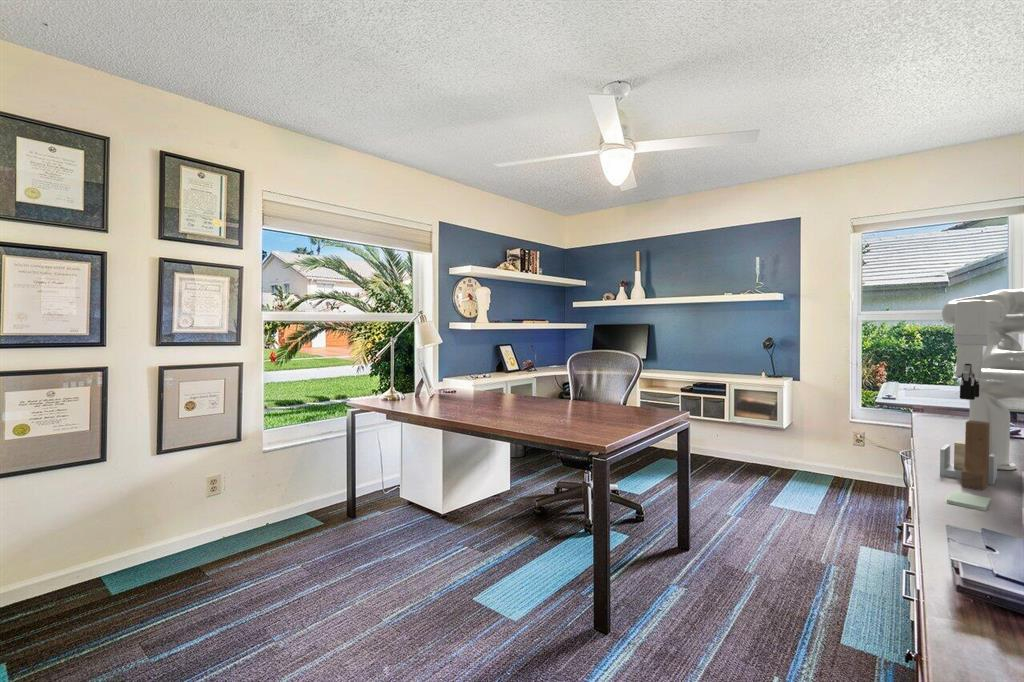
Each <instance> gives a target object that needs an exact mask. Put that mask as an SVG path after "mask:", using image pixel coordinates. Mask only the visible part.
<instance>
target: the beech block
mask: <svg viewBox="0 0 1024 682" xmlns="http://www.w3.org/2000/svg"><path fill="white" fill-rule="evenodd" d="M953 445H954V448H953V449H954V450H953V451H954V452H953V455H954V456H953V464H954V469H958V470H963V468H964V463H965V441H960V440H956V441H955V442H954V444H953Z"/></svg>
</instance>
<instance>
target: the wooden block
mask: <svg viewBox="0 0 1024 682" xmlns="http://www.w3.org/2000/svg"><path fill="white" fill-rule="evenodd" d="M989 434H990V423H989V422H982V421H973V420H970V419H968V420H967V421H966V422H965V440H964V442H965V463H964V468H963V470H962V472H961V479H960V486H961V487H962V488H966V489H973V490H977V491H983V490H984V489H985V488H987V486H988V485H989V484H988V479H989Z"/></svg>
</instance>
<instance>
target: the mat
mask: <svg viewBox="0 0 1024 682" xmlns="http://www.w3.org/2000/svg"><path fill="white" fill-rule="evenodd" d="M991 501H992V499H991V498H990V497H985V496H980V495H975V494H971V493H970V494H969V493H965V492H964V493H963V492H959V491H952V492H951V494H949V496H948V497H947V499H946V503H947V504H951V505H954V506H960V507H964V508H966V507H967V508H971V509H975V510H980V511H985V512H986V511H987V510H988V507H989V506H990V504H991Z"/></svg>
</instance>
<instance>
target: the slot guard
mask: <svg viewBox="0 0 1024 682" xmlns="http://www.w3.org/2000/svg"><path fill="white" fill-rule="evenodd" d="M997 455H998V451H992V452H991V454H990V455H989V479H988V485H994V483H995V482H996V481H997V478H998V469H997ZM939 458H940V459H939V476H942V477H948V478H953V479H954V478H955V479H960V480H961V472H962V470H958V469H954V463H951V444H949V443H948V444H947V443H946V444H944V445H943V446H942V447H941V448H940V453H939Z"/></svg>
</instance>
